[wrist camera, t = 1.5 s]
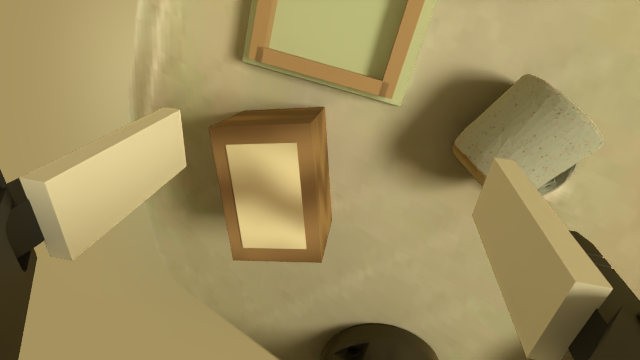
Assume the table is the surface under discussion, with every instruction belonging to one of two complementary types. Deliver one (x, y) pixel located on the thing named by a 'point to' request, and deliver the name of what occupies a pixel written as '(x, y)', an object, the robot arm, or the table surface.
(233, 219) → the wooden box
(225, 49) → the table surface
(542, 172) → the ceramic mug
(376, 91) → the panel
